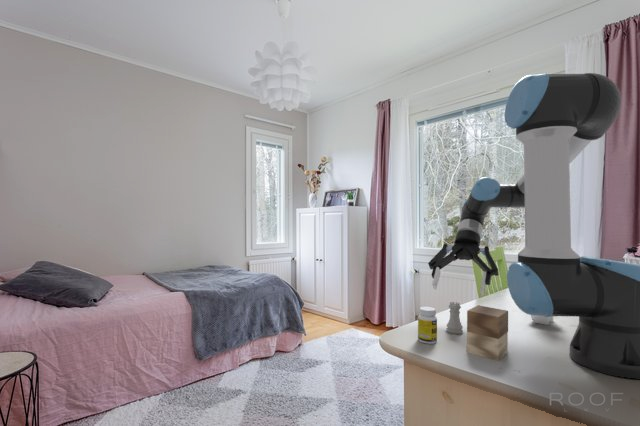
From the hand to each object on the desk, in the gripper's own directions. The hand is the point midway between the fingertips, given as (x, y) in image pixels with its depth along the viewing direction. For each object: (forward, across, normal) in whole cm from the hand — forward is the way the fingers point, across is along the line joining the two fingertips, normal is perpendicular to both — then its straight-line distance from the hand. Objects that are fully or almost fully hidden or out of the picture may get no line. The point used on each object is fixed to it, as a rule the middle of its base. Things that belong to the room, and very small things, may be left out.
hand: (457, 289), depth 102 cm
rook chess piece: (+12, -1, -3) cm, 12 cm away
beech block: (+19, -11, +4) cm, 22 cm away
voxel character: (-5, -20, -20) cm, 29 cm away
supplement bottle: (+20, +3, +5) cm, 21 cm away
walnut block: (+15, -11, +8) cm, 20 cm away
